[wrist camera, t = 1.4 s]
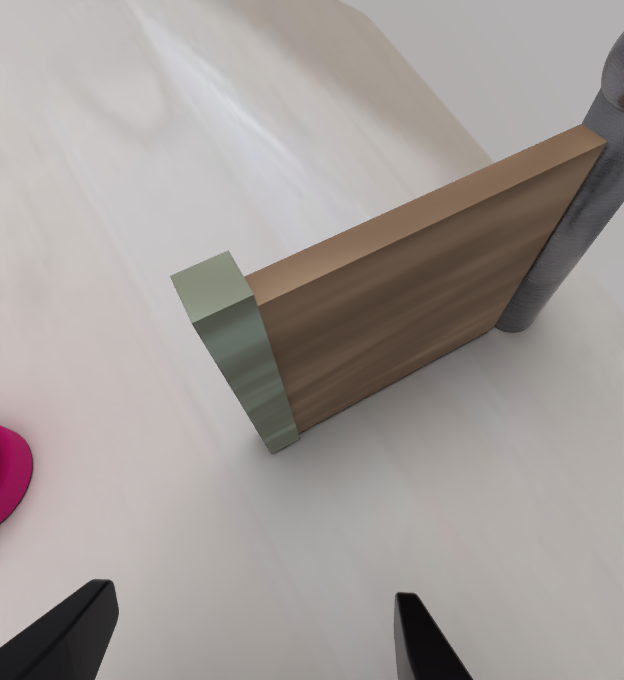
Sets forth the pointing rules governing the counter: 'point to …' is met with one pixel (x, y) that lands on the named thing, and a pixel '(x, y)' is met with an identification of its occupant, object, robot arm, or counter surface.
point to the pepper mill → (13, 470)
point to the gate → (381, 289)
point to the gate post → (579, 203)
